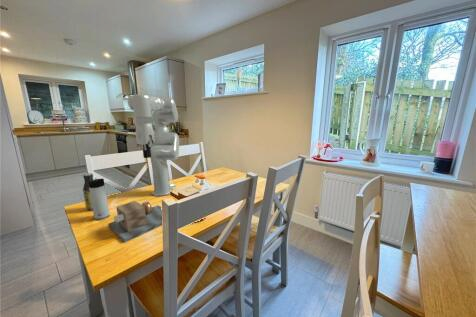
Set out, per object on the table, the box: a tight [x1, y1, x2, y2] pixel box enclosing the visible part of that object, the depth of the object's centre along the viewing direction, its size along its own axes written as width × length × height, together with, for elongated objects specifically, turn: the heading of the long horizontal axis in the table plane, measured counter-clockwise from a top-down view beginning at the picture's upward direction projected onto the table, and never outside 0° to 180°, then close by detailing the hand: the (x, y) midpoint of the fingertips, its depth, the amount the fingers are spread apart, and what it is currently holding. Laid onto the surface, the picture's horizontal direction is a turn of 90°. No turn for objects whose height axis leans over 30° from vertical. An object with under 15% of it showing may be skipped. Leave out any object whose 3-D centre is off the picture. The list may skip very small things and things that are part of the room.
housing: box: [107, 200, 163, 243], centre depth 91 cm, size 24×18×10 cm
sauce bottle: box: [82, 172, 94, 212], centre depth 103 cm, size 6×6×20 cm
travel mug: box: [88, 178, 110, 221], centre depth 94 cm, size 6×7×20 cm
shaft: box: [113, 201, 153, 223], centre depth 87 cm, size 14×6×6 cm, turn 141°
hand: (147, 157), depth 98 cm, fingers closed
